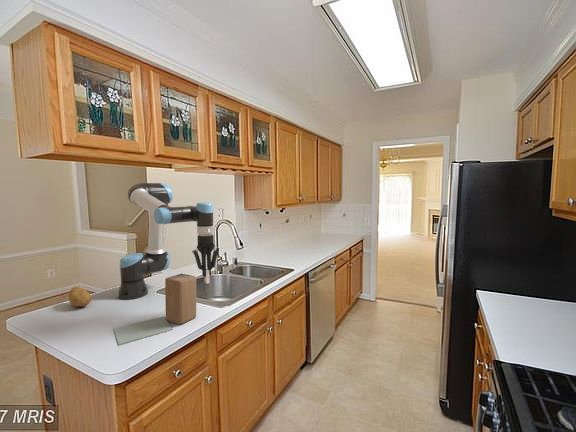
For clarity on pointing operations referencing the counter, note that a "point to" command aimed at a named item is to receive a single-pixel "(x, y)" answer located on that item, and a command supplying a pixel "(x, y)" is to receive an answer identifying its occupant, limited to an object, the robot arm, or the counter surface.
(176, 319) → the wooden block
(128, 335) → the mat
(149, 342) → the counter surface
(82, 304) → the potato
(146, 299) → the counter surface
